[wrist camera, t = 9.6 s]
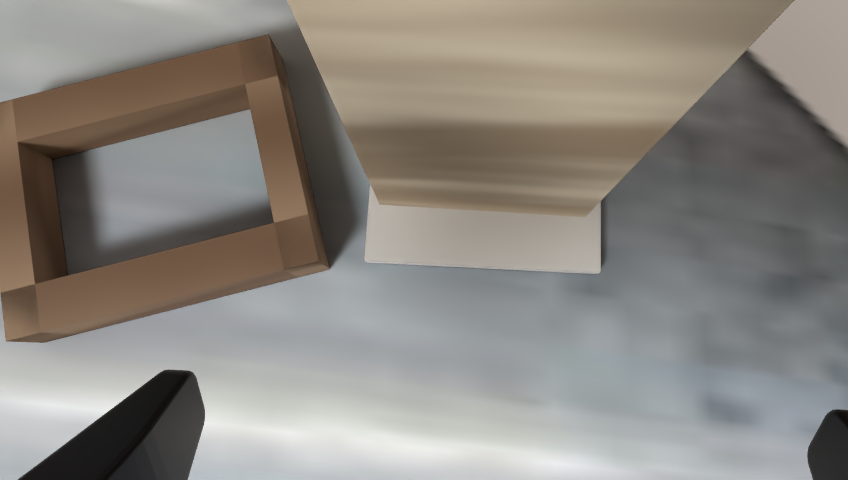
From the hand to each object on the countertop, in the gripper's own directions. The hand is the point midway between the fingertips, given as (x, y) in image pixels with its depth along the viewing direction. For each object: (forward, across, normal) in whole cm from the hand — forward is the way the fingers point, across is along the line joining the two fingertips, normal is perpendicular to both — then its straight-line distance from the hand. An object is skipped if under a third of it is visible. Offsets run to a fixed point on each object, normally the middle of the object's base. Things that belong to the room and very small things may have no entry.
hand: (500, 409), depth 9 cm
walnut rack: (+10, +10, +3) cm, 14 cm away
